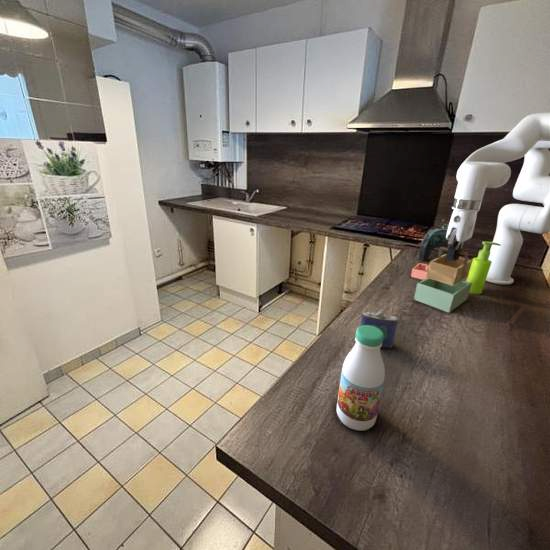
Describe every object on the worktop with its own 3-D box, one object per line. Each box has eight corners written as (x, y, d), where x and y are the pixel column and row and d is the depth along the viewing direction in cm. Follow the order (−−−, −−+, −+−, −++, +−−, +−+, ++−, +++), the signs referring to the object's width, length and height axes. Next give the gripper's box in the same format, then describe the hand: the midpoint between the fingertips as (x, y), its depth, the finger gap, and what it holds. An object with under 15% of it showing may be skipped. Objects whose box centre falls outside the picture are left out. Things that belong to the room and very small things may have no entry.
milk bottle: (331, 401, 62) (342, 320, 54) (367, 399, 62) (382, 318, 54) (342, 433, 55) (356, 345, 47) (382, 430, 55) (402, 343, 47)
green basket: (433, 288, 114) (437, 272, 112) (466, 300, 106) (472, 282, 103) (413, 300, 105) (417, 283, 102) (448, 314, 96) (454, 295, 94)
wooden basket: (441, 268, 109) (448, 242, 105) (467, 276, 103) (476, 248, 99) (426, 277, 101) (432, 249, 97) (453, 285, 95) (461, 256, 91)
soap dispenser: (486, 296, 109) (504, 245, 101) (466, 294, 110) (482, 243, 103) (480, 289, 115) (496, 240, 107) (460, 287, 116) (475, 239, 108)
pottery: (410, 277, 124) (415, 255, 121) (417, 271, 131) (422, 250, 127) (458, 290, 114) (465, 266, 110) (463, 282, 120) (469, 260, 116)
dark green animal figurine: (442, 254, 155) (451, 216, 147) (453, 258, 149) (463, 219, 141) (414, 258, 147) (423, 219, 139) (425, 263, 142) (435, 222, 134)
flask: (392, 344, 80) (399, 310, 76) (393, 350, 78) (400, 316, 74) (357, 338, 83) (362, 305, 79) (357, 344, 80) (362, 310, 76)
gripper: (470, 209, 85) (454, 267, 92) (488, 203, 94) (472, 257, 101) (443, 205, 90) (430, 261, 97) (462, 200, 99) (449, 252, 107)
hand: (451, 259), depth 99 cm, fingers closed on wooden basket, 1 cm apart
